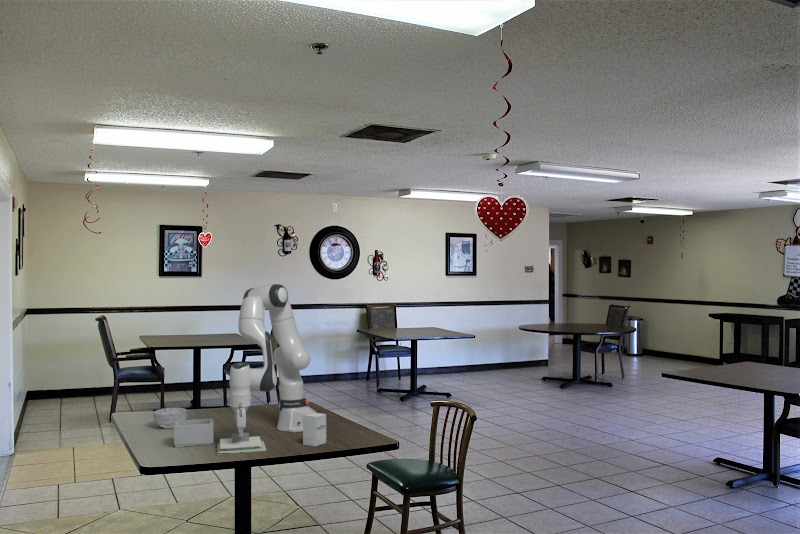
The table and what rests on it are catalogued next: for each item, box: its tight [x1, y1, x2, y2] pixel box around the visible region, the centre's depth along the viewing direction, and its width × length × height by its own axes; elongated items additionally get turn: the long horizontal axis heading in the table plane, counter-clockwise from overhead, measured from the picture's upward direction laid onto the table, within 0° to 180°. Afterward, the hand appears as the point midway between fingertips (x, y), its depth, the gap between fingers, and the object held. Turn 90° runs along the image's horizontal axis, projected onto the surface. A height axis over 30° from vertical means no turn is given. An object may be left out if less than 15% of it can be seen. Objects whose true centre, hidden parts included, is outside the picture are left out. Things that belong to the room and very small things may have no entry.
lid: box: [219, 432, 262, 450], centre depth 291 cm, size 17×13×5 cm
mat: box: [217, 440, 267, 454], centre depth 291 cm, size 20×16×1 cm
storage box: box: [173, 418, 215, 445], centre depth 300 cm, size 16×12×9 cm
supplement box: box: [302, 412, 327, 447], centre depth 297 cm, size 7×7×13 cm
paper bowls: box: [153, 407, 188, 426], centre depth 334 cm, size 15×15×8 cm
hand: (240, 434), depth 291 cm, fingers open, 3 cm apart
